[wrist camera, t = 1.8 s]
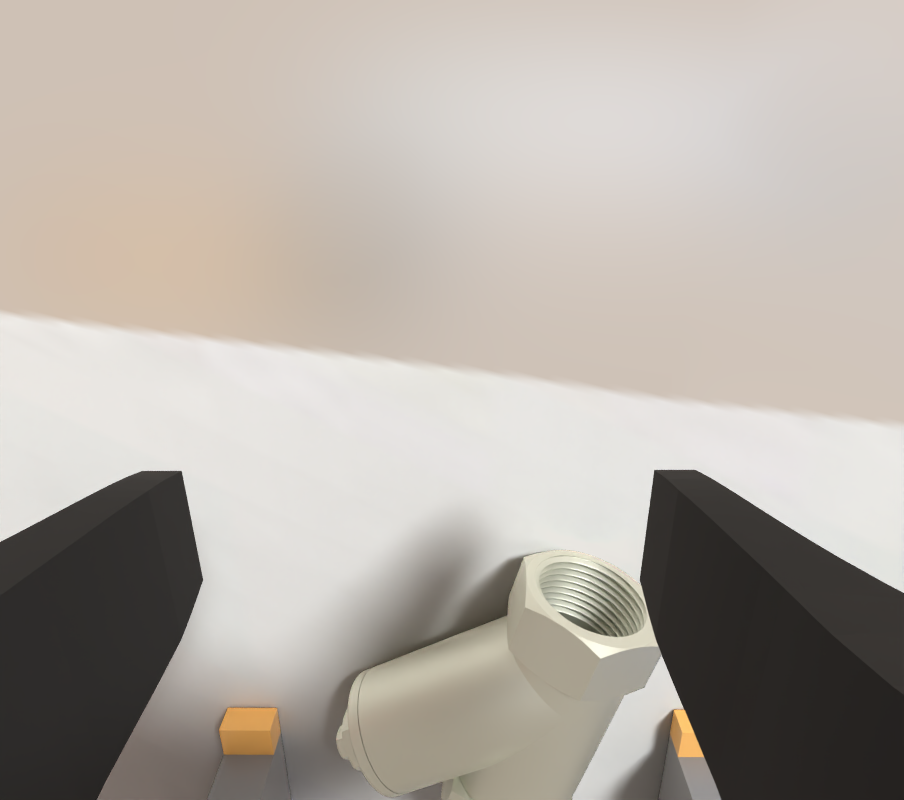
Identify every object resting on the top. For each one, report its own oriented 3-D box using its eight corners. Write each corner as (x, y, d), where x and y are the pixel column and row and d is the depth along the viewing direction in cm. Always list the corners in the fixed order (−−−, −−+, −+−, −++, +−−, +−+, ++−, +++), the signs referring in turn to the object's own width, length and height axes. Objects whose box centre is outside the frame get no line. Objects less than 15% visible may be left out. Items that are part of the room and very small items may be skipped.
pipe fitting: (345, 706, 20) (549, 763, 21) (309, 827, 17) (557, 895, 17) (405, 496, 17) (644, 565, 18) (377, 589, 14) (677, 674, 14)
